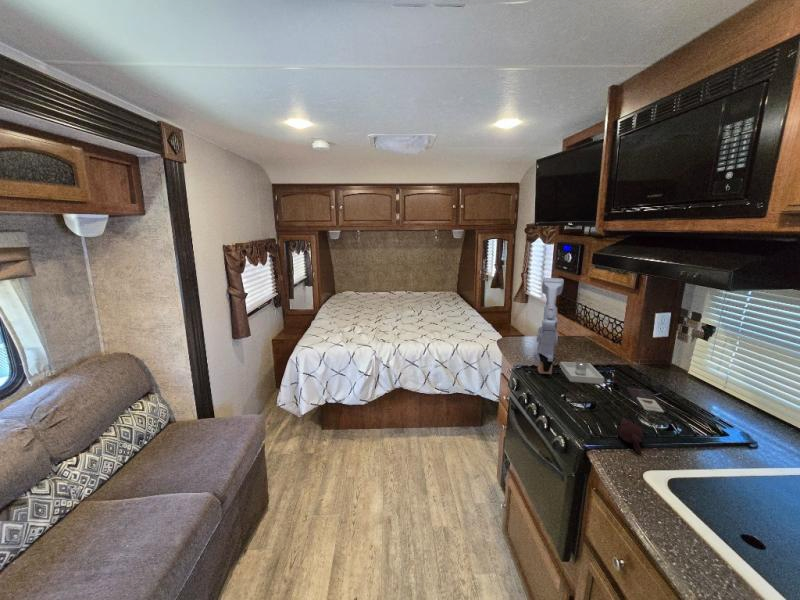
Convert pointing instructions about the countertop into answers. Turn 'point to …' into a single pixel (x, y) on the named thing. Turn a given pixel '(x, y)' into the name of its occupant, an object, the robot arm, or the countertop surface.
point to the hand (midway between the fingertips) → (544, 369)
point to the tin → (581, 368)
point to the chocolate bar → (646, 400)
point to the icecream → (631, 433)
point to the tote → (590, 376)
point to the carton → (540, 369)
